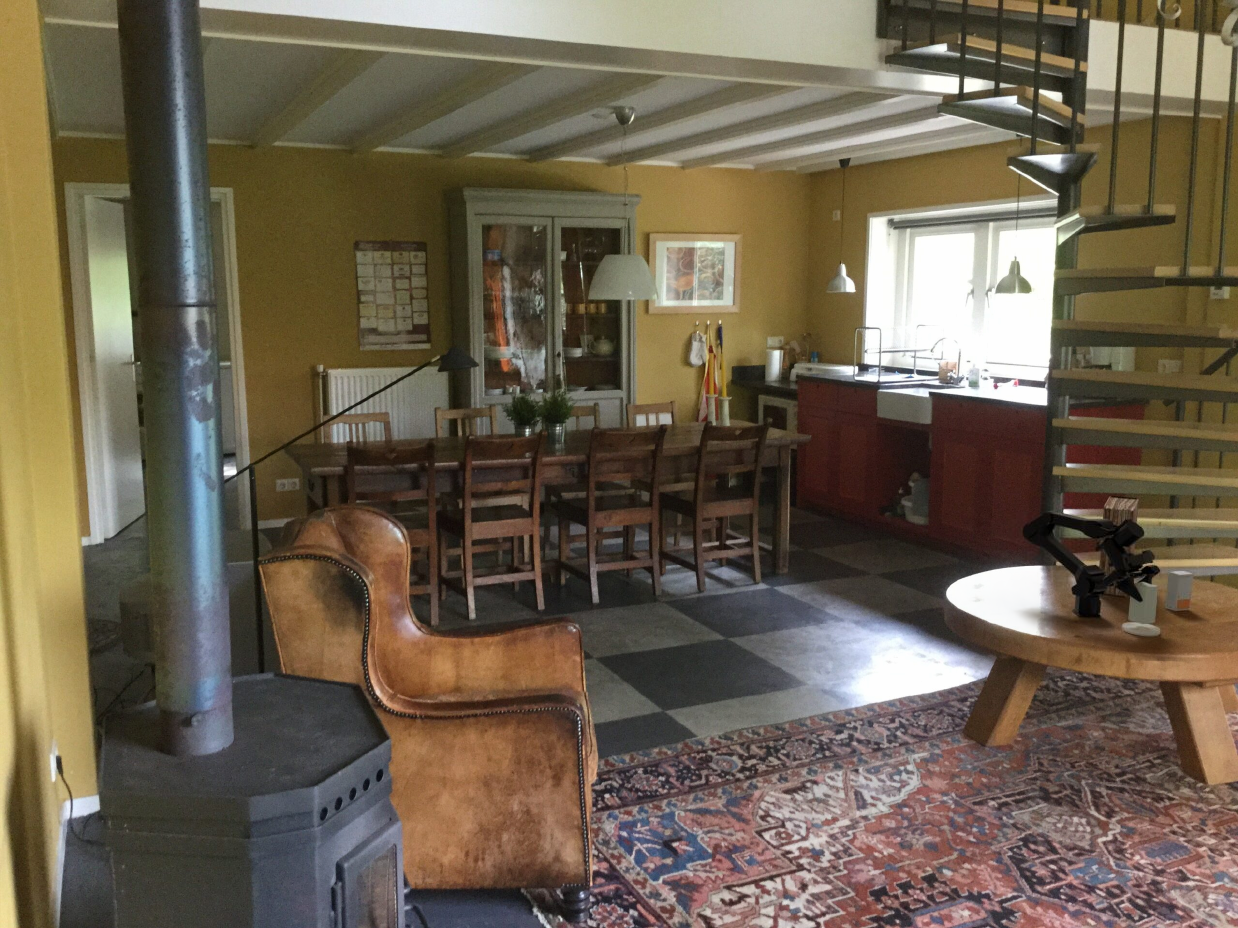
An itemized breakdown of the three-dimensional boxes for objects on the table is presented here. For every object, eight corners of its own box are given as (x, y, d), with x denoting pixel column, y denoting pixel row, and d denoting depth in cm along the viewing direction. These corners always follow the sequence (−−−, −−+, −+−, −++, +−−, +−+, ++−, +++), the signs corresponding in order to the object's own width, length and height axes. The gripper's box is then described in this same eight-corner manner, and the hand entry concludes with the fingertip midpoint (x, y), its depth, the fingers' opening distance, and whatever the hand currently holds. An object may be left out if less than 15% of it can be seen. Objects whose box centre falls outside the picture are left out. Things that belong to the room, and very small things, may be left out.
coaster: (1131, 635, 302) (1131, 631, 302) (1116, 625, 312) (1116, 621, 312) (1166, 636, 302) (1166, 632, 302) (1149, 626, 312) (1150, 622, 312)
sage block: (1143, 624, 304) (1146, 587, 302) (1128, 619, 308) (1131, 583, 306) (1154, 622, 306) (1158, 585, 304) (1139, 617, 310) (1143, 581, 309)
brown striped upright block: (1126, 598, 343) (1134, 509, 339) (1096, 594, 348) (1103, 506, 343) (1131, 581, 365) (1139, 497, 361) (1103, 578, 370) (1109, 495, 365)
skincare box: (1175, 611, 328) (1178, 574, 327) (1164, 607, 332) (1167, 571, 331) (1190, 610, 330) (1194, 573, 328) (1180, 606, 334) (1183, 570, 332)
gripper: (1114, 543, 303) (1145, 589, 295) (1157, 538, 311) (1188, 583, 303) (1089, 563, 311) (1118, 609, 303) (1132, 558, 319) (1161, 602, 311)
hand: (1147, 600), depth 305 cm, fingers closed on sage block, 5 cm apart
